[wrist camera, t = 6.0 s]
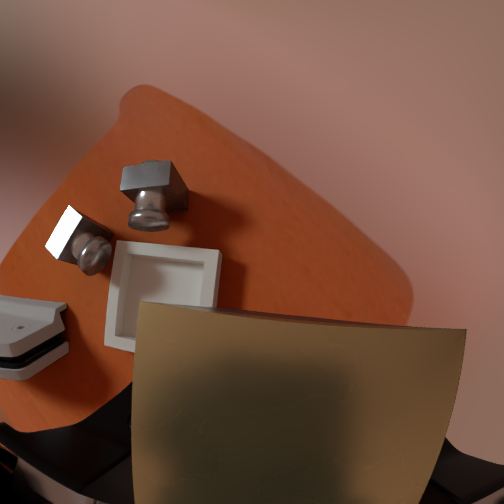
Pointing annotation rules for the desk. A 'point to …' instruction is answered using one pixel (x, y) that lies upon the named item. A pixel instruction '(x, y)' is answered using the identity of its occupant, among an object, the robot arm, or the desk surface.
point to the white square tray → (157, 284)
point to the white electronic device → (29, 336)
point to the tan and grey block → (287, 407)
